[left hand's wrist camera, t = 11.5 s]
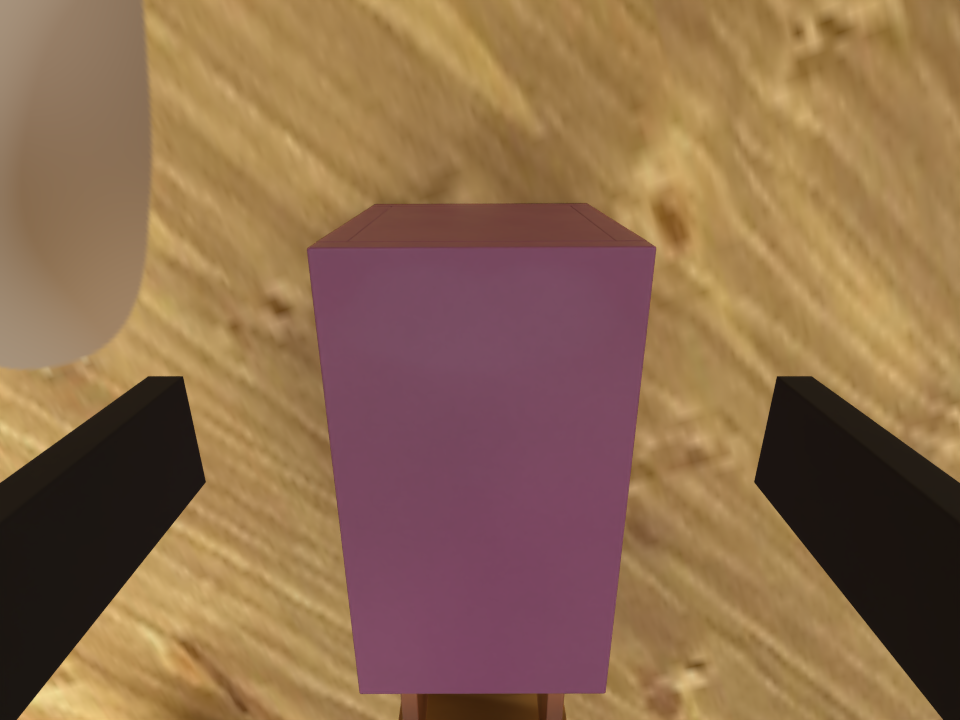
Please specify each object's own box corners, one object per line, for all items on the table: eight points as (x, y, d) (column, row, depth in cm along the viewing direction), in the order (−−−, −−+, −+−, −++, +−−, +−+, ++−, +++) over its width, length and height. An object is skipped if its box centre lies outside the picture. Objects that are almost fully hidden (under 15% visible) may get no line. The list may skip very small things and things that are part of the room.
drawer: (548, 706, 41) (568, 873, 31) (415, 706, 41) (396, 873, 31) (567, 404, 31) (603, 515, 22) (395, 404, 31) (361, 515, 22)
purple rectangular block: (566, 520, 36) (606, 694, 25) (397, 520, 36) (359, 694, 25) (587, 203, 28) (657, 246, 17) (374, 203, 28) (305, 247, 17)
